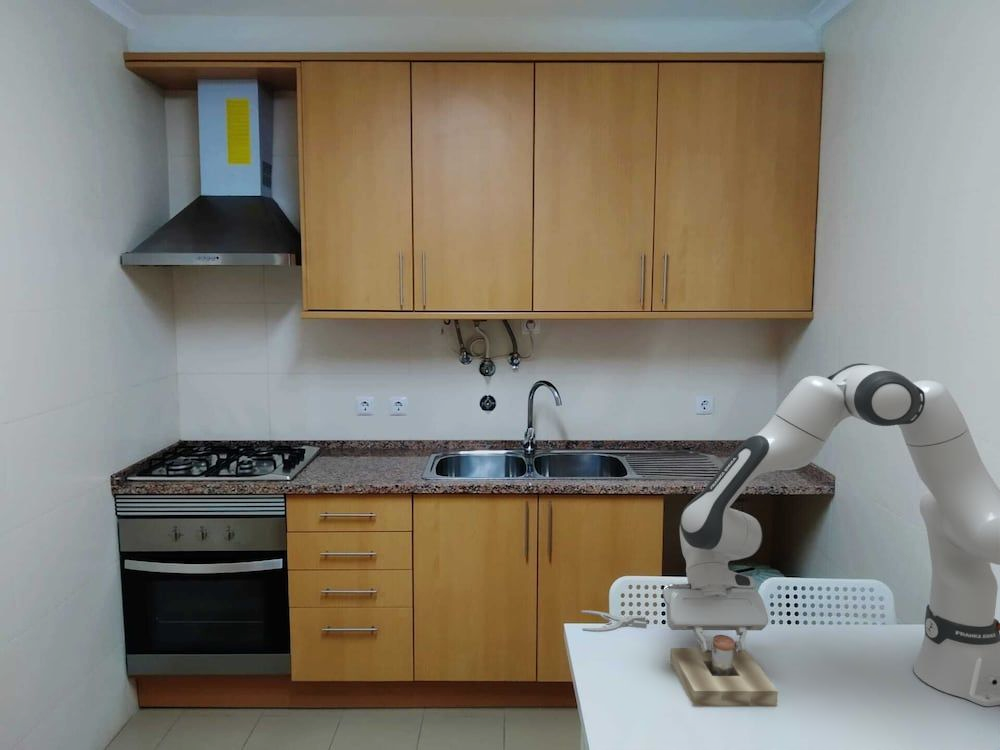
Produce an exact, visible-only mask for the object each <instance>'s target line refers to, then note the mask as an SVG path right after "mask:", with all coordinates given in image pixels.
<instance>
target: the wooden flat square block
mask: <svg viewBox="0 0 1000 750" xmlns="http://www.w3.org/2000/svg"><path fill="white" fill-rule="evenodd" d="M669 650H670V651H669V652H670V653H669V662H671V663H670V664H671V667H672V668H673V670H674V671H675V673H676V676H677V677H678V680H679V682H680V683H681V685H682V687H683V689H684V690H685V693H686V694H687V696H688V699H689V700H690V702H691V704H692V705H693V707H777V705H778V693H779V690H777V688H776V686H774V683H772V681H770V679H769V678H768V676H767V675H766V673H765V672H764V671H763V669H762V668H761V667H760V666H759V664H758V663H757V662H756V661H755V659H754V658H753V656H752V655H751V653H749V651H748V650H747V648H745V651H744V652H735V648H734V652H733V665H732V676H712V675H711V663H712V651H710V652H702V648H701V647H670V649H669Z"/></svg>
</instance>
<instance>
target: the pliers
mask: <svg viewBox="0 0 1000 750" xmlns="http://www.w3.org/2000/svg"><path fill="white" fill-rule="evenodd" d="M580 613H581V614H588V615H595V616H600V617H601V618H602V619H604V620H605V621H609V622H607V623H605V624H604V625H608V626H604V625H603V626H601V627H582V631H585V632H591V633H592V632H593V633H594V632H595V633H596V632H597V633H601V632H611V631H614V630H617V629H621V628H625V627H630V628H637V629H647V627H648V626H647V625H648V622H646V618H647V617H646V616H644V615H643V616H642V615H626V616H624V617H622V618H621V617H618V616H617V615H616V616H615V615H613V614H611V613H608V612H603V611H598V610H581V611H580ZM612 621H615V623H613V622H612Z"/></svg>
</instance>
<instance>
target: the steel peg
mask: <svg viewBox="0 0 1000 750" xmlns="http://www.w3.org/2000/svg"><path fill="white" fill-rule="evenodd" d="M734 643H735V640H734V639H733V638H732V637H730V636H729V635H725V634H717V635H714V636H713V637H712V647H711V648H712V663H711V675H712V676H732V665H733V652H734Z"/></svg>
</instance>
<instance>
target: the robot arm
mask: <svg viewBox="0 0 1000 750" xmlns="http://www.w3.org/2000/svg"><path fill="white" fill-rule="evenodd" d="M958 405H959V404H958V403H957V402H956V401H955V399H954V397H953V396H952V394H951V393H950V391H949V390H948V388H947V387H946V386H945V385H944V384H943V383H941V382H938V381H936V380H932V379H931V380H930V379H929V380H928V379H923V380H917V381H913V382H912V381H910V379H908V378H907V377H905V376H904V375H903V374H900V373H898V372H895V371H893V370H890V369H888V368H886V367H883V366H880V365H871V364H869V363H864V362H863V363H861V362H860V363H853V364H849V365H846V366H844V367H842V368H841V369H839V370H838V371H837V372H835V373H833V374H830V375H829V376H827V377H823V376H821V375H808V376H806V377H804V378H802V379H801V380H800V381H799V382H797V384H796V385H794V387H793V388H792V389H791V391H789V393H788V394H787V396H785V398H784V399H783V401H782V402H781V403H780V405H779V406H778V407H777V409H776V411H775V412H774V414H773V416H772V417H771V418H770V420H769V421H768V422H767V423H766V425H764V427H763V428H762V429H761V430H760V431H758V432H757V433H756V434H754V435H753V436H749V437H748V438H746V440H744V441H743V442H742V443H741V444H740V445H739V446H738V447H737V448H736V449H735V450H734V451H733V452H732V454H731V455H730V456H729V458H728V459H727V460H726V462H725V463H724V464H723V465H722V467H721V468H720V469H719V470H718V471H717V473H715V475H714V476H713V478H712V479H711V480H710V481H709V482H708V484H707V485H706V486H705V487H704V489H702V491H701V492H699V494H697V495H696V496H695V497H694V498H693V499H691V500H690V501H689V502H688V503H687V505H685V507H684V508H683V510H682V512H681V516H680V520H679V540H680V546H681V553H682V555H683V558H684V559H685V564H686V566H685V573H686V578H687V583H679V584H678V583H677V584H676V583H669V584H668V585H666V586H665V587H664V588H663V589H662V598H663V601H664V603H665V604H666V612H665V613H666V624H667V626H668V627H669V628H670V630H672V631H692V634H693V637H694V638H695V639H696V641H698V643H699V644H700V648H702V652H710V651H712V648H713V647H712V645H711V641H710V640H707V639H706V638H705V636H704V635H703V634H702V633H703V632H704V631H735V633H736V636H739V637H738V640H736V641H734V648H735V652H744V651H745V649H746V647H745V644H744V643H745V642H744V641H745V640H746V635H747V633H748V631H762V630H763V629H765V628H766V627H767V625H768V623H769V620H770V619H769V614H768V612H767V609H766V606H765V605H766V604H765V603H764V600H763V597H762V596H761V594H760V593H759V592H758V591H757V590H756V589H755V587H756V580H755V578H753V577H752V576H749V575H745V574H742V573H740V572H739V573H738V572H736V571H733V570H731V569H730V568H729V566H728V565H729V562H730V561H731V562H733V561H739V560H743V559H748V558H750V557H752V556H753V555H755V554H756V553H757V552H758V550H760V547H761V545H762V542H763V529H762V525H761V523H760V521H759V519H757V518H756V517H754V516H753V515H750V514H748V513H746V512H743V511H740V510H738V509H735V508H731V506H732V505H733V503H734V502H735V501H736V500H737V499H738V497H739V496H740V495H741V493H742V492H743V491H744V490H745V489H746V487H747V486H748V485H749V484H750V482H751V481H752V480H753V479H755V478H756V477H758V476H759V475H762V474H765V473H770V472H774V471H775V472H776V471H791V470H797V469H800V468H803V467H806V466H808V465H809V464H810V463H812V462H813V461H814V460H815V459H816V458H817V456H818V455H819V453H820V452H821V451H822V449H823V447H824V446H825V445H826V442H827V441H828V440H829V438H830V436H831V434H832V432H833V431H834V429H835V428H837V426H838V425H839V424H840V423H841V422H843V421H844V420H846V419H848V418H850V417H854V418H856V419H858V420H862V421H865V422H867V423H869V424H871V425H874V426H879V427H891V426H898V428H899V429H900V430H901V431H900V432H901V434H902V436H903V439H904V443H905V445H906V447H907V450H908V452H909V454H910V457H911V460H912V462H913V465H914V467H915V469H916V472H917V474H918V477H919V478H920V480H921V481H922V483H923V484H924V485H925V486H926V488H927V490H926V491H925V492H924V494H923V495H922V496H921V498H920V501H919V511H920V515H921V517H922V518H923V521H924V522H923V523H924V524H925V527H926V533H927V539H928V546H929V554H930V561H931V582H930V593H929V594H930V595H929V604H927V605H926V609H925V614H924V615H925V616H924V636H923V640H922V644H921V648H920V650H919V653H918V655H917V658H916V660H915V662H914V664H913V667H912V670H913V672H914V674H915V675H916V676H917V677H918V679H920V680H921V681H923V682H924V683H925V684H928V685H929V686H931V687H932V688H934V689H936V690H939V691H941V692H943V693H946V694H949V695H951V696H952V695H953V696H956V697H958V698H959V697H960V698H962V699H966V700H969V701H970V702H973V703H975V704H977V705H980V706H984V707H993V706H994V707H995V706H1000V622H999V620H998V619H996V618H995V617H996V616H995V615H996V606H997V595H998V591H999V589H998V588H999V586H998V581H997V578H996V576H995V573H994V571H993V569H992V566H991V564H994V565H998V566H999V565H1000V489H999V487H998V485H997V483H996V482H995V481H994V479H993V478H992V476H991V474H990V473H989V471H988V470H987V468H986V466H985V464H984V462H983V461H982V459H981V456H980V454H979V451H978V448H977V446H976V444H975V442H974V439H973V437H972V434H971V431H970V429H969V427H968V424H967V422H966V420H965V418H964V416H963V414H962V411H961V408H960V407H959V406H958Z"/></svg>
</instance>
